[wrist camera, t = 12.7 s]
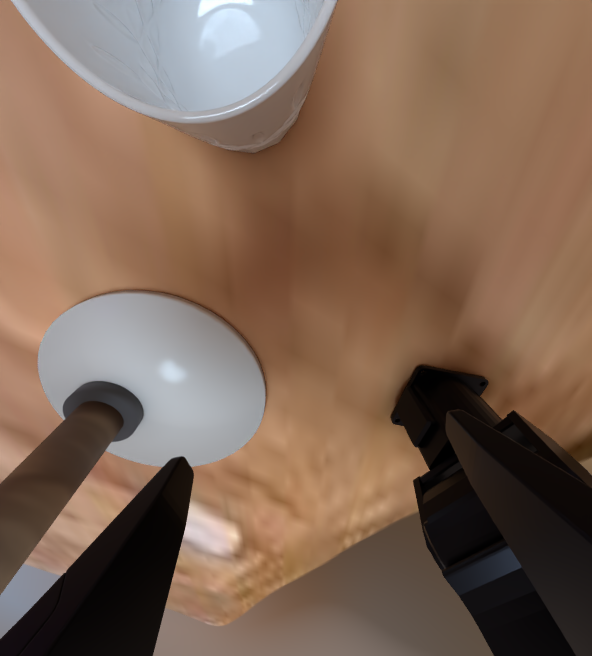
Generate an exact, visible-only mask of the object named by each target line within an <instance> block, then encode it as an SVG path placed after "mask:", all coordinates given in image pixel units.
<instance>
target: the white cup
mask: <svg viewBox="0 0 592 656" xmlns="http://www.w3.org/2000/svg"><path fill="white" fill-rule="evenodd" d="M11 1H12V3H13V4H14V5H15V7H16V8H17V9H18V11H19V12H20V14H21V15H22V16H23V17H24V19H25V20H26V21H27V23H28V24H29V25H30V26H31V28H32V29H33V30H34V31H35V32H36V34H37V35H38V36H39V37H40V38H41V39H42V40H43V42H44V43H45V44H46V45H47V46H48V47H49V48H50V49H51V50H52V51H53V52H54V53H55V54H56V55H57V56H58V57H59V58H60V59H61V60H62V61H63V62H64V63H65V64H66V65H67V66H68V67H69V68H70V69H71V70H73V71H74V72H75V73H76V74H77V75H78V76H80V77H81V78H82V79H83V80H85V81H86V82H87V83H88V84H90V85H91V86H93V87H94V88H95V89H97V90H98V91H100V92H101V93H103V94H104V95H106V96H107V97H109V98H111V99H112V100H114V101H116V102H118V103H119V104H121V105H123V106H125V107H127V108H129V109H131V110H134V111H136V112H138V113H140V114H143V115H145V116H147V117H150V118H152V119H154V120H156V121H159V122H161V123H163V124H165V125H167V126H170V127H172V128H174V129H176V130H178V131H180V132H183V133H185V134H187V135H189V136H191V137H194V138H196V139H198V140H201V141H204V142H207V143H209V144H211V145H214V146H217V147H221V148H224V149H227V150H232V151H240V152H247V153H256V152H258V151H261V150H263V149H265V148H268V147H270V146H272V145H275V144H277V143H279V142H280V140H281V139H282V138H283V137H284V135H285V134H286V133H287V132H288V130H289V129H290V128H291V127H292V125H293V124H294V123H295V122H296V120H297V119H298V116H299V112H300V109H301V107H302V105H303V104H304V101H305V99H306V97H307V94H308V92H309V89H310V86H311V84H312V81H313V79H314V75H315V72H316V69H317V66H318V63H319V59H320V56H321V53H322V50H323V47H324V44H325V40H326V37H327V34H328V31H329V27H330V24H331V21H332V18H333V15H334V12H335V8H336V5H337V2H338V0H11Z"/></svg>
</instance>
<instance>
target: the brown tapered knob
mask: <svg viewBox="0 0 592 656" xmlns="http://www.w3.org/2000/svg"><path fill="white" fill-rule="evenodd" d="M63 414H64V417H65V420H64V421H63V422H62V423H61V424H60V425H59V426H58V427H57V428H56V429H55V430H54V431H53V432H52V433H51V434H50V435H49V436H48V437H47V438H46V439H45V440H44V441H43V442H42V443H41V444H40V445H39V446H38V447H37V448H36V449H35V450H34V451H33V452H32V453H31V454H30V455H29V456H28V457H27V458H26V459H25V460H24V461H23V462H22V463H21V464H20V465H19V466H18V467H17V468H16V469H15V470H14V471H13V472H12V473H11V474H10V475H9V476H8V477H7V478H6V479H5V480H4V481H3V482H2V483H1V484H0V595H1V593H2V592H3V591H4V589H5V588H6V586H7V585H8V584H9V582H10V581H11V580H12V578H13V577H14V575H15V574H16V573H17V571H18V570H19V569H20V567H21V566H22V564H23V563H24V562H25V560H26V559H27V558H28V556H29V555H30V553H31V552H32V551H33V549H34V548H35V547H36V545H37V544H38V542H39V541H40V540H41V538H42V537H43V536H44V534H45V533H46V531H47V530H48V529H49V527H50V526H51V525H52V523H53V522H54V520H55V519H56V518H57V516H58V515H59V514H60V512H61V511H62V509H63V508H64V507H65V505H66V504H67V503H68V501H69V500H70V498H71V497H72V496H73V494H74V493H75V492H76V490H77V489H78V487H79V486H80V485H81V483H82V482H83V481H84V479H85V478H86V476H87V475H88V474H89V472H90V471H91V470H92V468H93V467H94V465H95V464H96V463H97V461H98V460H99V459H100V457H101V456H102V454H103V453H104V452H105V450H106V449H107V448H108V446H109V445H110V443H111V442H118V441H122V440H125V439H127V438H129V437H130V436H131V435H132V434H133V433H134V432H135V430H136V429H137V427H138V426H139V424H140V423H141V421H142V419H143V416H144V411H143V407H142V404H141V402H140V401H139V399H138V398H137V397H136V396H135V395H134V394H133V393H132V392H130V391H129V390H127V389H126V388H124V387H122V386H120V385H117V384H115V383H111V382H106V381H92V382H88V383H85V384H83V385H81V386H80V387H79V388H78V389H76V390H75V391H74V392H73V393H72V394H71V395H70V396H69V397H68V398H67V399H66V400H65V402H64V404H63Z"/></svg>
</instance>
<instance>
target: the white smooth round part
mask: <svg viewBox="0 0 592 656" xmlns="http://www.w3.org/2000/svg"><path fill="white" fill-rule="evenodd" d="M38 371H39V377H40V381H41V384H42V387H43V390H44V392H45V394H46V396H47V398H48V400H49V402H50V403H51V404H52V406H53V407H54V409H55V410H56V412H57V413H58V414H59V415H60V416H61V417H62V419H63V420H65V417H64V414H63V404H64V402H65V400H66V399H67V398H68V397H69V396H70V395H71V394H72V393H73V392H74V391H75V390H76V389H78V388H79V387H80V386H81V385H83V384H85V383H88V382H92V381H106V382H111V383H115V384H117V385H120V386H122V387H124V388H126V389H127V390H129V391H130V392H132V393H133V394H134V395H135V396H136V397H137V398H138V399H139V401H140V402H141V404H142V407H143V411H144V416H143V419H142V421H141V423H140V424H139V426H138V427H137V429H136V430H135V432H134V433H133V434H132V435H131V436H130V437H129V438H127V439H125V440H122V441H118V442H111V443H110V445H109V446H108V448H107V449H106V451H107V452H110V453H112V454H114V455H117V456H119V457H122V458H125V459H128V460H131V461H134V462H138V463H142V464H147V465H153V466H160V467H163V466H164V465H165V464H166V463H167V462H168V461H169V460H170V459H171V458H174V457H179V456H184V457H185V458H186V460H187V461H188V463H189V464H190V466H191V467H193V466H199V465H204V464H208V463H212V462H215V461H218V460H220V459H223V458H225V457H227V456H229V455H231V454H233V453H234V452H236V451H237V450H239V449H240V448H241V447H243V446H244V445H245V444H246V443H247V442H248V441H249V440H250V439H251V438H252V436H253V435H254V434H255V432H256V431H257V429H258V427H259V425H260V423H261V420H262V417H263V414H264V408H265V400H266V383H265V378H264V373H263V371H262V368H261V365H260V362H259V361H258V359H257V357H256V355H255V353H254V351H253V350H252V349H251V347H250V346H249V344H248V343H247V342H246V340H245V339H244V338H243V337H242V336H241V335H240V334H239V333H238V332H237V331H236V330H235V329H234V328H233V327H232V326H231V325H229V324H228V323H227V322H226V321H225V320H223V319H222V318H220V317H219V316H217V315H216V314H214V313H213V312H211V311H210V310H208V309H206V308H204V307H202V306H200V305H198V304H196V303H194V302H191V301H188V300H186V299H183V298H181V297H177V296H173V295H170V294H166V293H161V292H154V291H147V290H124V291H114V292H109V293H105V294H101V295H98V296H95V297H93V298H90V299H88V300H86V301H83V302H81V303H79V304H78V305H76V306H74V307H72V308H71V309H69V310H67V311H66V312H64V313H63V314H61V315H60V316H59V317H58V318H57V319H56V320H55V321H54V322H53V323H52V324H51V326H50V327H49V328H48V330H47V331H46V333H45V335H44V337H43V339H42V342H41V344H40V348H39V353H38Z"/></svg>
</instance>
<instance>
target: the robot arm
mask: <svg viewBox="0 0 592 656" xmlns="http://www.w3.org/2000/svg"><path fill="white" fill-rule="evenodd" d="M422 371H424V372H422ZM421 372H422V373H421ZM487 385H488V380H487V379H486V378H484V377H482V376H477V375H471V374H466V373H461V372H456V371H450V370H445V369H440V368H435V367H429V366H424V365H422V366H419V367H417V369H416V370H415V372H414V374H413V376H412V378H411V380H410V382H409V383H408V385H407V387H406V388H405V390H404V392H403V394H402V396H401V398H400V400H399V402H398V404H397V406H396V408H395V410H394V412H393V414H392V416H391V420H392V423H393V424H395V425H401V426H404V427H405V429H406V431H407V433H408V435H409V437H410V439H411V441H412V443H413V445H414V446H415V447H418V448H419V450H420V452H421V454H422V456H423V458H424V460H425V462H426V464H427V466H428V468H429V469H430V471H428V472H427V473H425V474H424V475H423V476H421V477H417V478H416V479H414V480H413V483H414V488H415V493H416V498H417V503H418V508H419V513H420V519H421V523H422V529H423V533H424V537H425V540H426V545H427V548H428V549H429V551H430V552H431V554H432V556H433V558H434V559H435V561H436V563H437V564H438V566H439V568H440V569H441V570H442V573H443V576H444V578H445V579H446V580H447V582H448V583H449V584H450V585H451V587H452V588H453V589H454V590H455V592H456V593H457V594H458V595H459V597H460V598H461V600H462V601H463V603H464V604H465V606H466V607H467V609H468V610H469V612H470V613H471V615H472V617H473V618H474V620H475V622H476V624H477V625H478V627H479V629H480V631H481V632H482V634H483V636H484V638H485V640H486V642H487V643H488V645H489V647H490V649H491V651H492V653H493V654H494V656H592V475H591V474H590V473H589V472H588V471H587V470H586V469H585V468H584V467H583V466H582V465H581V464H580V463H578V462H577V461H576V460H575V459H574V458H573V457H572V456H571V455H569V454H568V453H567V452H566V451H565V450H564V449H563V448H562V447H561V446H559V445H558V444H557V443H556V442H555V441H554V440H553V439H551V438H550V437H549V436H548V435H546V434H545V433H544V432H542V431H541V430H540V429H538V428H537V427H536V426H534V425H533V424H532V423H530V422H529V421H528V420H526V419H525V418H524V417H522V416H521V415H520V414H518V413H517V412H516V411H514V410H513V411H512V412H510V413H509V414H507V417H506V418H505V419H503V420H502V419H501V418H500V417H499V416H498V415H497V414H496V413H495V412H494V410H493V409H492V408H491V407H490V406H489V405H488V404H487V403H486V402H485V401H484V400H483V399H482V398H481V397H480V395H481V394H482V393H483V391H484V390H485V388H486V387H487ZM193 478H194V473H193V470H192V468H191V466H190V464H189V463H188V461H187V460H186V458H185V457H184V456H179V457H174V458H171V459H170V460H169V461H168V462H167V463H166V464H165V465H164V466H163V467H162V469H161V470H160V471H159V472H158V473H157V474H156V475H155V476H154V477H153V478H152V479H151V480H150V481H149V483H148V484H147V485H146V486H145V487H144V488H143V489H142V490H141V491H140V492H139V493H138V494H137V495H136V496H135V498H134V499H133V500H132V501H131V502H130V503H129V504H128V505H127V506H126V507H125V508H124V509H123V510H122V512H121V513H120V514H119V515H118V516H117V517H116V518H115V519H114V520H113V521H112V522H111V523H110V524H109V525H108V527H107V528H106V529H105V530H104V531H103V532H102V533H101V534H100V535H99V536H98V537H97V538H96V539H95V541H94V542H93V543H92V544H91V545H90V546H89V547H88V548H87V549H86V550H85V551H84V552H83V553H82V554H81V556H80V557H79V558H78V559H77V560H76V561H75V562H74V563H73V564H72V565H71V566H70V567H69V568H68V570H67V571H66V573H64V574H63V575H62V576H61V577H60V578H59V579H58V580H57V581H56V582H55V583H54V584H53V586H52V587H51V588H50V589H49V590H48V591H47V592H46V593H45V594H44V595H43V596H42V597H41V598H40V599H39V600H38V601H37V603H35V604H34V606H33V607H32V608H31V609H30V610H29V611H28V612H27V613H26V614H25V615H24V616H23V617H22V618H21V619H20V620H19V621H18V622H17V623H16V624H15V625H14V626H13V627H12V628H11V629H10V630H9V631H8V632H7V633H6V634H5V635H4V636H3V637H2V638H1V639H0V656H153V652H154V649H155V645H156V641H157V637H158V633H159V629H160V625H161V621H162V617H163V613H164V609H165V606H166V602H167V598H168V594H169V590H170V586H171V582H172V578H173V574H174V570H175V566H176V562H177V558H178V555H179V551H180V547H181V543H182V539H183V535H184V531H185V526H186V521H187V516H188V509H189V503H190V497H191V491H192V485H193Z"/></svg>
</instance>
